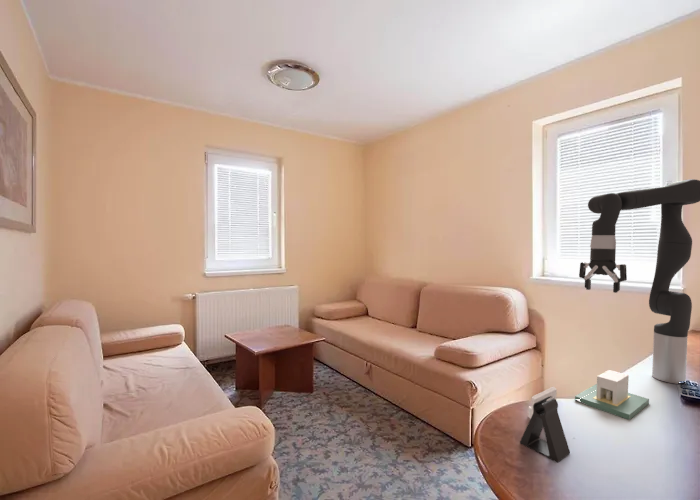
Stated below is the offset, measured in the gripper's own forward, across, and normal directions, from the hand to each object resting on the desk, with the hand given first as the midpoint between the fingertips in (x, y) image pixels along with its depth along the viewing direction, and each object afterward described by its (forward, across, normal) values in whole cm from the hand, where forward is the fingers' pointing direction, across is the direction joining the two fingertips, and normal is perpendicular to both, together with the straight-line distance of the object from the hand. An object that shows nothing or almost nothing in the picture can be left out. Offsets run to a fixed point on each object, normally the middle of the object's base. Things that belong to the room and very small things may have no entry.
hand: (601, 290), depth 126 cm
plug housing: (+32, -10, +19) cm, 38 cm away
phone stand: (+33, -10, +63) cm, 72 cm away
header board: (+33, -10, +19) cm, 39 cm away
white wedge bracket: (+33, -3, +50) cm, 60 cm away
